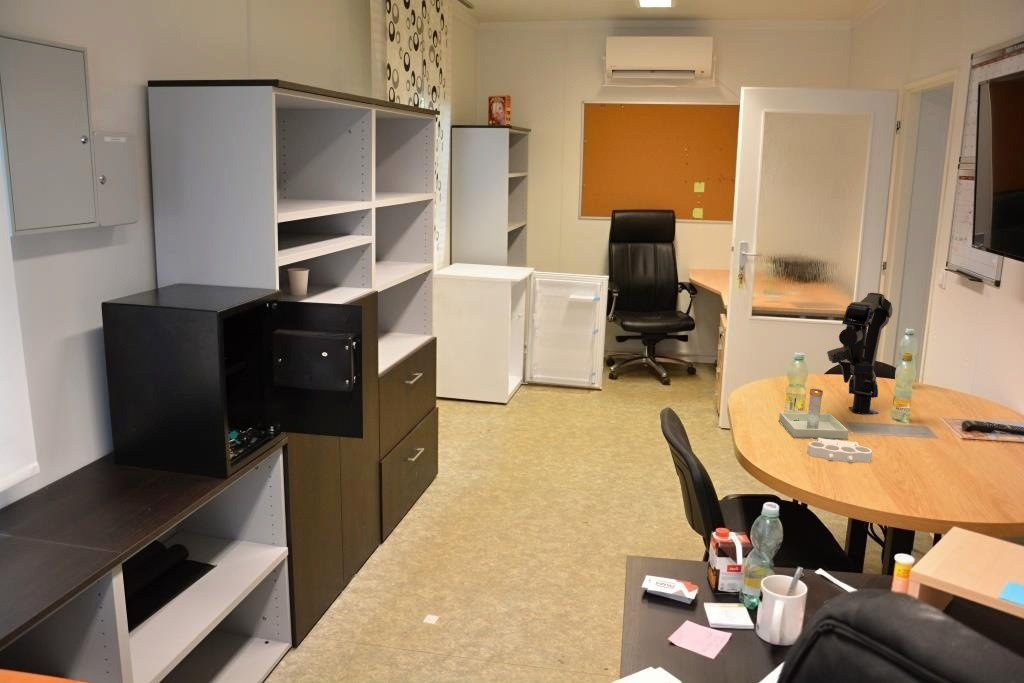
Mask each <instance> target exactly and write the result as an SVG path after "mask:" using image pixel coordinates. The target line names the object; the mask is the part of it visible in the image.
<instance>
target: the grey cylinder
mask: <svg viewBox="0 0 1024 683" xmlns="http://www.w3.org/2000/svg"><path fill="white" fill-rule="evenodd" d="M823 394H824V391H823V389H819V388H811V389H809V402H808V410H807V413H808V419H807V429H818V426H819V417H820V414H821V407H822V406H821V405H822V398H823Z"/></svg>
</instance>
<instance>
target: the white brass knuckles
mask: <svg viewBox="0 0 1024 683" xmlns="http://www.w3.org/2000/svg"><path fill="white" fill-rule="evenodd" d="M806 453H807V455H808V456H811V457H813V458H821V459H826V460H829V461H833V462H843V463H864V464H867V463H870V462H872V457H873V450H872V449H871V448H870V447H865V446H863V445H860V444H859V442H858V441H850V440H849V441H846V440H841V439H822V438H817V439H816V441H815V440H813V441H812V440H811V441H810V442H808V443H807V452H806Z"/></svg>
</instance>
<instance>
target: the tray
mask: <svg viewBox="0 0 1024 683" xmlns="http://www.w3.org/2000/svg"><path fill="white" fill-rule="evenodd" d="M796 417H797V418H799V420H801V421H793V420H796ZM807 419H808V412H782V411H781V412H779V418H778V422H781V423H782V424H783V425H782V424H781V423H780V424H781V425H782V426H783V428H785V430H786V429H787V430H788V431H787V430H786V431H787V432H788V433H789V434H790V436H791V437H792V438H793V439H810V438H813V440H814V439H815V440H817V438H822V439H831V440H843V439H849V432H850V431H849V429H848V428H846V427H845V426H844V425H843V424H842V423H841V422H840V421H839V420H838V419H837V418H835V416H833V415H832V414H831V413H820V417H819V426H818V429H807Z"/></svg>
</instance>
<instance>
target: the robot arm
mask: <svg viewBox="0 0 1024 683" xmlns="http://www.w3.org/2000/svg"><path fill="white" fill-rule="evenodd" d="M893 312H894V311H893V305H892V302H891V301H889V300H888V299H887V298H886V297H885V295H884V294H883V293H879V292H878V293H877V292H868V293H867V295H866V296H865V297H864V298H863V299H862V300H861V301H852V302H850V303H849V305H847V306H846V309H845V313H844V316H843V320H842V322H841V323H842V325H846V327H845V329H843V330H841V331H840V333H839V336H838V340H839V342H840V343H841V344H842V346H841V347H837V348H834V349H831V350H828V351H826V355H827V357H828V360H829V361H830V362H831V363H832V364H838V365H840V367H841V372H842V377H843V383H847V384H848V394H850V395H851V394H852V395H853V400H852V406H848V409H849V410H850V411H851V412H852V413H854V414H863V415H864V414H865V415H867V414H869V415H873V414H874V411H873V410H871V405H872V399H875V398H878V396H879V386H878V382H877V375H876V373H875V371H874V369H875V368H874V367H875V362H876V357H877V353H878V350H879V349H878V348H879V344H880V339H881V334H882V330H883V329H884V328H885V327H886V326H887V325H888V324H889V322H890V319H891V318H892V315H893ZM872 413H873V414H872Z"/></svg>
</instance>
